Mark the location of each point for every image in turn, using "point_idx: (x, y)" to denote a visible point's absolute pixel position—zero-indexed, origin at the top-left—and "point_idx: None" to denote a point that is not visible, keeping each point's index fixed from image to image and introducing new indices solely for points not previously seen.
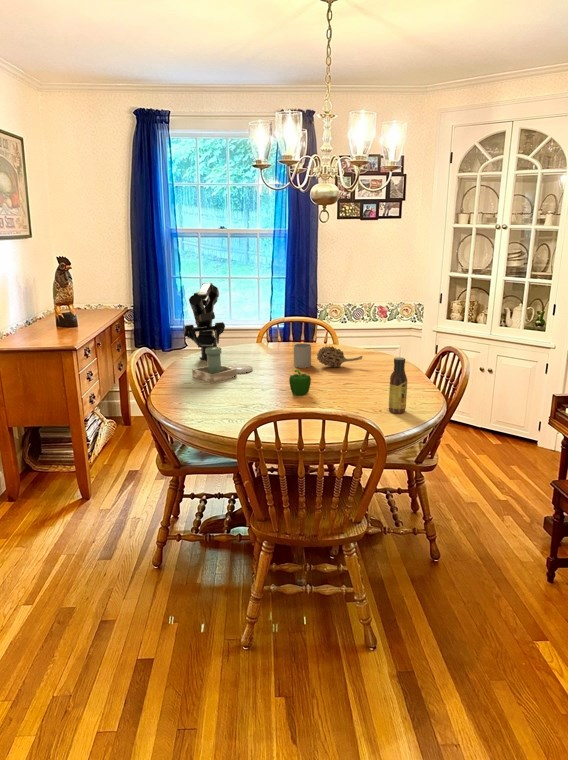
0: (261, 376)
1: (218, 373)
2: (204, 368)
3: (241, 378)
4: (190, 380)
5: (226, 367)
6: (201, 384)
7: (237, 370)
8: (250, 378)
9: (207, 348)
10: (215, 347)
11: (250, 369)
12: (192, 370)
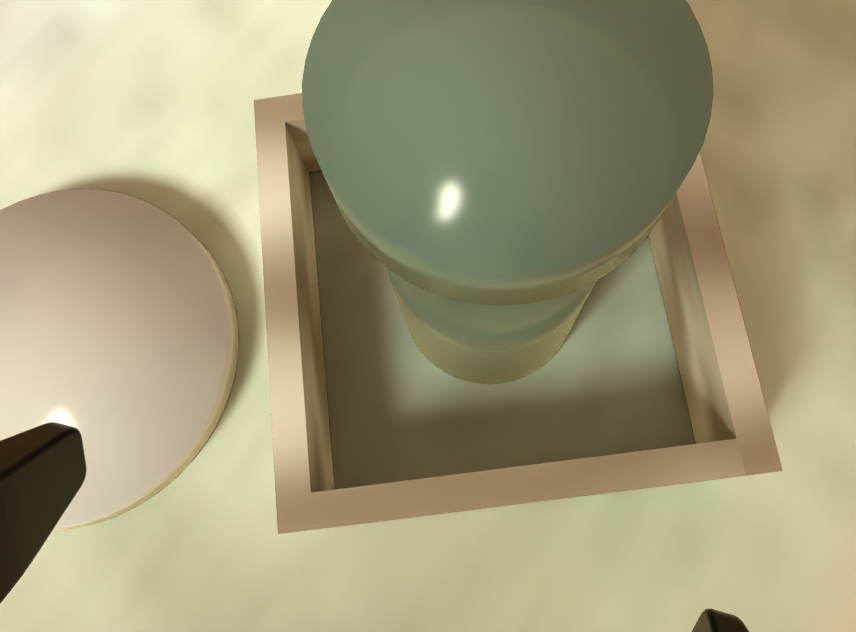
0: (93, 6)
1: None
2: (552, 462)
3: (291, 63)
4: (826, 350)
5: (295, 254)
6: (775, 126)
7: (164, 255)
8: (223, 12)
9: (619, 179)
10: (391, 147)
11: (21, 201)
12: (774, 466)
